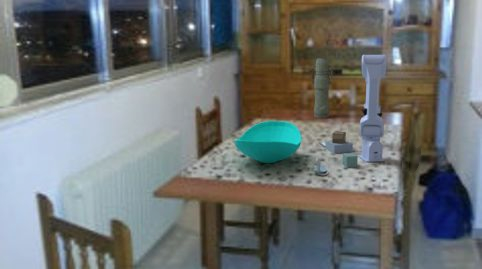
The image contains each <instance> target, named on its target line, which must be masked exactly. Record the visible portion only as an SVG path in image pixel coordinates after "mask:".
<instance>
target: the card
mask: <svg viewBox="0 0 482 269" xmlns="http://www.w3.org/2000/svg"><path fill="white" fill-rule="evenodd" d="M318 144H319V145H320V146H321V147H322V148H325V141H321V142H320V141H319V142H318Z"/></svg>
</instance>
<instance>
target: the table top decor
mask: <svg viewBox="0 0 482 269" xmlns="http://www.w3.org/2000/svg"><path fill="white" fill-rule="evenodd" d="M302 140H303V139H302V134H301V131H300V129H299V128H298V127H297V126H296V125H295V124H294V123H292V122H288V121H285V120H283V121H282V120H281V121H280V120H268V121H261V122H259V123H256V124H254V125H252V126H251V127H250V128H248V129H247V130H245V132H244V133H243V134H242V135H241V136H239V137H238V138H236V139H235V140H234V141H233V142H234V146H235V147H236V149H237V150H238V151H239V152H241V153H242V154H243V155H244V156H246V157H249V158H251V159H253V160H255V161H258V162H259V163H264V164H272V163H276V162H281V161H283V160H285V159H287V158H290V157H291V156H292V155H293V154H295V153H296V152H297V151H298V149H299V148H300V147H301V144H302V143H301V142H302Z"/></svg>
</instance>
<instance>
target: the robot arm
mask: <svg viewBox="0 0 482 269" xmlns="http://www.w3.org/2000/svg"><path fill="white" fill-rule="evenodd" d="M387 61H388V56H387V54H363V55H361V75H362V77H363V78H365V83H366V84H365V85H366V86H365V87H366V88H365V89H366V90H365V92H366V93H365V103H363V108H362V109H361V112H362V115H363V116H362V117H361V119H360V121H359V136H360V138H362V139H361V140H362V142H361V143H362V146H361V147H362V148H361V154H358V158H360V159H362V160H363V161H364V162H366V163H369V162H371V163H372V162H384V161H385V159H384V158H383V154H384V153H383V151H384V148H383V144H382V142H381V139H382V138H383V137H384V129H385V127H384V126H385V124H384V123H385V121H384V118H382V116H383V112H381V107H382V106H381V105H379V102H380V87H381V86H380V85H381V79H384V78H385V77H386V75H387V65H388V64H387V63H388V62H387Z"/></svg>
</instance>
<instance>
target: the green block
mask: <svg viewBox="0 0 482 269" xmlns="http://www.w3.org/2000/svg"><path fill="white" fill-rule="evenodd" d="M358 158H359V155H357V154H355V153H354V152H345V153H342V165H343V166H344V167H346V168H355V167H358Z"/></svg>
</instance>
